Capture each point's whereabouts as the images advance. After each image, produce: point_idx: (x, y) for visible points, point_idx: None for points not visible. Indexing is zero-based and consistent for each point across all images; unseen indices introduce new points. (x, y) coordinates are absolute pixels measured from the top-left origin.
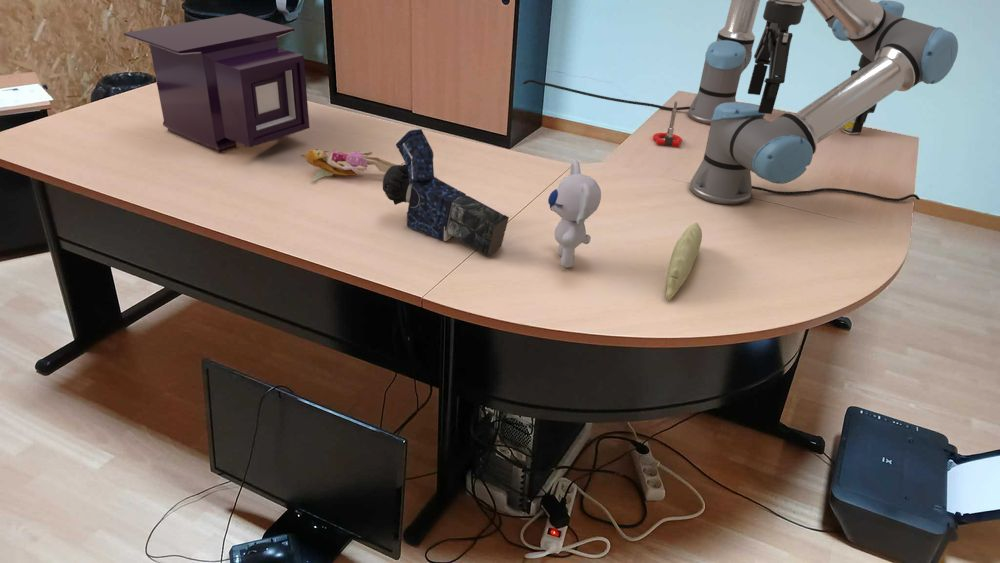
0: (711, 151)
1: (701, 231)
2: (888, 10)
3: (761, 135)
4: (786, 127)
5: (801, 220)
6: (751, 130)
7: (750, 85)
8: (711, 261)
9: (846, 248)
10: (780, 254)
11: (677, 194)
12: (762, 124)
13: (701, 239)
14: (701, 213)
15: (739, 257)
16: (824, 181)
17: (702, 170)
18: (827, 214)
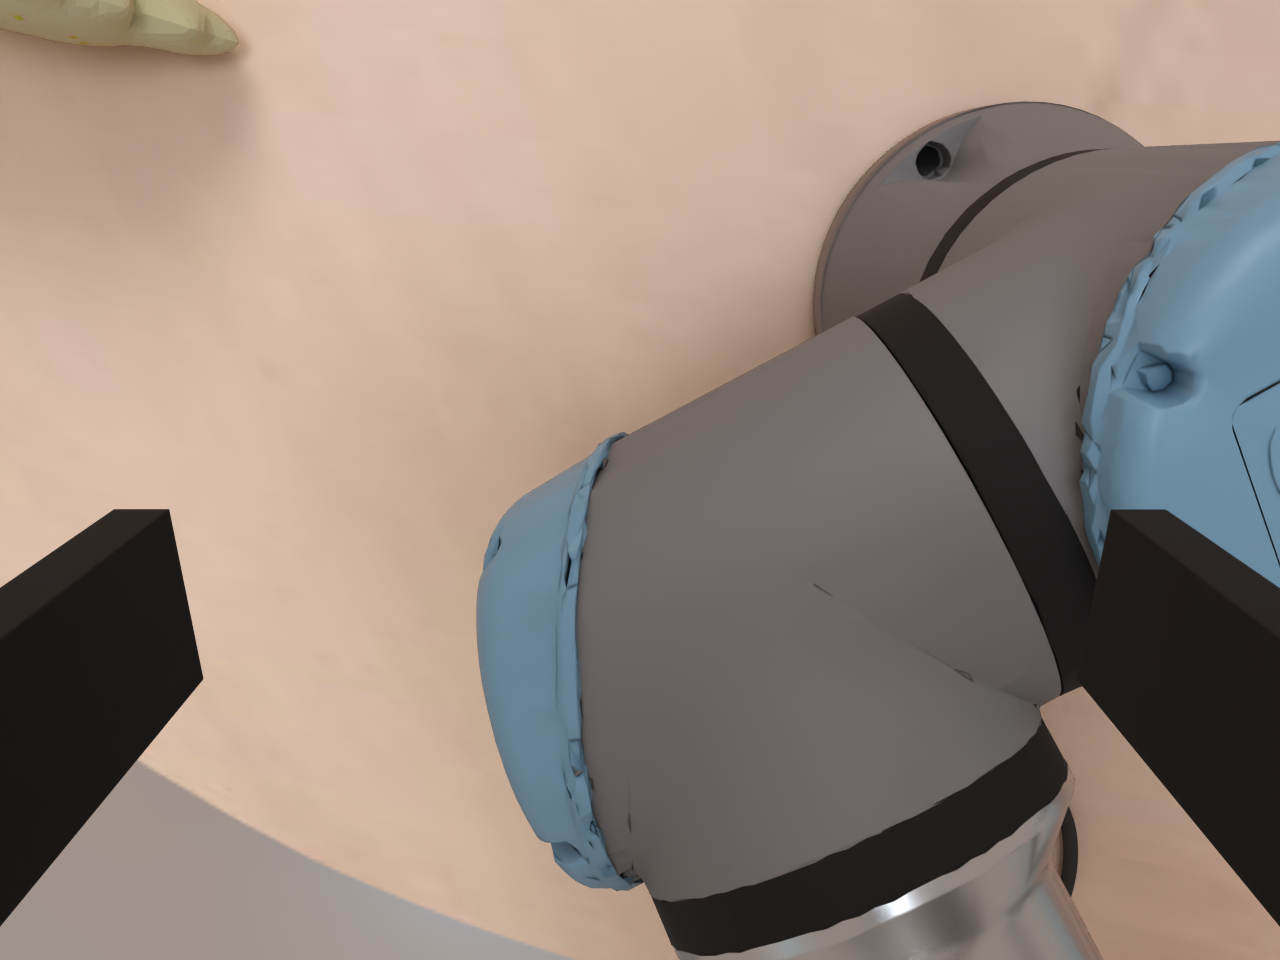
0: (1048, 177)
1: (2, 16)
2: None
3: (698, 546)
4: (709, 789)
5: None
6: (832, 476)
7: (1192, 578)
8: (113, 131)
9: (477, 766)
10: (320, 487)
11: (920, 9)
12: (878, 596)
13: (31, 34)
14: (675, 142)
15: (215, 287)
16: (1185, 842)
17: (1012, 146)
18: None
